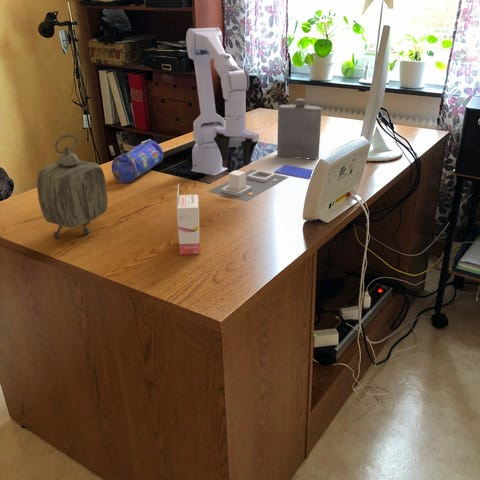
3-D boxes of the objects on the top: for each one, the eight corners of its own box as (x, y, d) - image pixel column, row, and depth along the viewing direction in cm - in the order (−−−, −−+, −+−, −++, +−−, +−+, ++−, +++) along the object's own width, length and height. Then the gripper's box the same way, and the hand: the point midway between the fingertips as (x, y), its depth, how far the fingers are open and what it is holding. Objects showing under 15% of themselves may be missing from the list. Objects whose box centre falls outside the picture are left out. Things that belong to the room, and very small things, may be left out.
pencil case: (144, 162, 187) (141, 135, 183) (166, 164, 185) (164, 137, 180) (111, 183, 168) (107, 153, 164) (135, 186, 166) (132, 156, 162)
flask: (320, 155, 192) (323, 98, 183) (317, 160, 187) (320, 102, 178) (279, 152, 196) (280, 96, 187) (275, 156, 191) (276, 99, 182)
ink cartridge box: (200, 254, 124) (198, 195, 118) (179, 255, 124) (175, 196, 117) (200, 238, 132) (197, 181, 125) (179, 239, 132) (176, 182, 125)
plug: (228, 191, 159) (228, 173, 157) (236, 187, 162) (236, 169, 160) (238, 193, 158) (238, 175, 155) (246, 189, 160) (246, 171, 158)
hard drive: (274, 171, 174) (309, 177, 168) (285, 164, 180) (319, 170, 174) (274, 175, 175) (308, 182, 169) (285, 168, 181) (319, 174, 175)
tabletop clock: (88, 218, 143) (75, 125, 132) (114, 225, 139) (102, 130, 128) (45, 239, 132) (27, 139, 121) (72, 247, 128) (55, 145, 117)
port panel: (207, 192, 160) (207, 188, 159) (251, 170, 177) (251, 166, 177) (246, 202, 152) (246, 197, 152) (288, 178, 170) (288, 174, 170)
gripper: (205, 114, 151) (207, 161, 157) (249, 121, 143) (249, 170, 149) (220, 109, 156) (221, 155, 162) (263, 116, 148) (262, 163, 154)
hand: (235, 161), depth 156 cm, fingers open, 7 cm apart
